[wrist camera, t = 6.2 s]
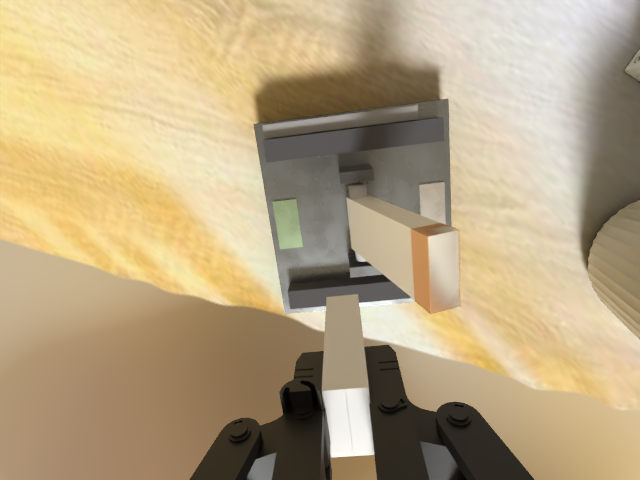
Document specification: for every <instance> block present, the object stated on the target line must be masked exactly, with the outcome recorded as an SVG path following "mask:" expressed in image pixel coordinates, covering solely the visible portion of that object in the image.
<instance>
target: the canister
mask: <svg viewBox="0 0 640 480" xmlns="http://www.w3.org/2000/svg"><path fill="white" fill-rule="evenodd" d="M588 262H589V265H588V271H589V279H590V281H591V282H592V287H593V289H594V290H595V292H596V293H597V295H598V297H599V298H600V300H601V301H602V302H603V303H604V304H605V305H606V306H607V307H608V308H609V310H610V311H611V312H612V313H613V314H614V315H615V316H616V317H617V318H618V319H619V320H620V321H621V322H622V323H623V324H624V325H625V326H626V327H627V328H628V329H629V330H630V331H631V332H632V333H633V334H635V335H636V336H637V337H638V338H639V339H640V199H639V200H638V201H637V202H633V203H630V204H628V205H627V206H626V207H625V208H623V209H620V210H619V211H618V213H616V214H615V215H614V216H611V217H610V219H609V220H608V221H607V222H606V223H605V224H604V225H603V227H602V229H601V230H600V231H599V232H598V233H597V236H596V238H595V239H594V240H593V245H592V247H591V248H590V255H589V257H588Z"/></svg>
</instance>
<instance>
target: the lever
mask: <svg viewBox="0 0 640 480" xmlns="http://www.w3.org/2000/svg"><path fill="white" fill-rule="evenodd" d="M348 187H349V196H350V197H347V198H346V200H347V209H348V219H349V228H350V238H351V248H352V249H353V250H354V251H355V255H356V260H357V261H359V262H366V261H367V262H369V263H370V264H371V265H372V266H373V267H375V268H376V269H377V270H378V271H380V272H381V273H382V274H383V275H384V276H386V277H387V278H388V279H389V280H391V281H392V282H393V283H394V284H395V285H397V286H398V287H399V288H400V289H402V290H403V291H404V292H405V293H406V294H408V295H409V296H410V297H411V298H413V299H414V300H415V302H417V303H418V304H419V305H420V306H421V307H423V308H424V309H425V310H426V311H428V312H429V313H430V314H433V313H437V312H441V311H444V310H448V309H452V308H456V307H460V306H461V295H460V237H459V230H458V229H456V228H453V227H450V226H448V225H445V224H443V223H439V222H437V221H434V220H431V219H429V218H426V217H424V216H421V215H419V214H416V213H414V212H411V211H408V210H406V209H403V208H401V207H398V206H396V205H393V204H390V203H388V202H385V201H383V200H380V199H378V198H375V197H373V196H370V195H367V189H366V183H356V184H351V185H349V186H348Z"/></svg>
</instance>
